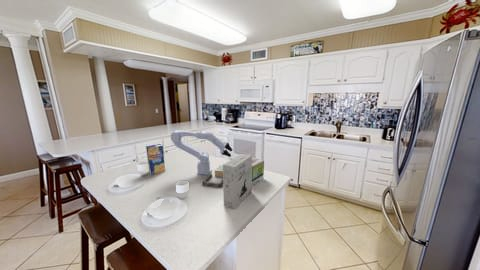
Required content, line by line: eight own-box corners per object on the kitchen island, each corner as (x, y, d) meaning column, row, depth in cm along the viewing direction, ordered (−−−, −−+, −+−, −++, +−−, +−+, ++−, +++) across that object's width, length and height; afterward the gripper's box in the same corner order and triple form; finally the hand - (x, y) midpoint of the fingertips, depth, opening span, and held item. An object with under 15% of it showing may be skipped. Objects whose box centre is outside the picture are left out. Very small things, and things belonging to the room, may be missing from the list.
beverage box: (165, 170, 148) (162, 145, 143) (151, 174, 141) (147, 147, 137) (162, 168, 153) (160, 143, 149) (148, 171, 147) (145, 146, 142)
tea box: (253, 186, 123) (253, 166, 120) (241, 182, 129) (241, 163, 126) (263, 178, 135) (264, 160, 131) (252, 175, 141) (253, 157, 137)
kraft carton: (214, 176, 138) (214, 170, 137) (218, 170, 150) (218, 164, 149) (224, 177, 137) (224, 171, 136) (228, 170, 149) (228, 165, 148)
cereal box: (234, 209, 98) (234, 167, 93) (223, 205, 102) (222, 164, 96) (251, 191, 116) (252, 155, 111) (241, 188, 120) (241, 153, 115)
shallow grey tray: (202, 185, 124) (202, 182, 123) (210, 176, 138) (210, 173, 138) (220, 187, 121) (220, 184, 121) (227, 177, 136) (227, 174, 135)
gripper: (219, 145, 134) (233, 156, 138) (223, 135, 147) (235, 145, 150) (214, 150, 137) (227, 160, 141) (218, 140, 150) (230, 150, 153)
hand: (231, 153), depth 146 cm, fingers open, 7 cm apart
